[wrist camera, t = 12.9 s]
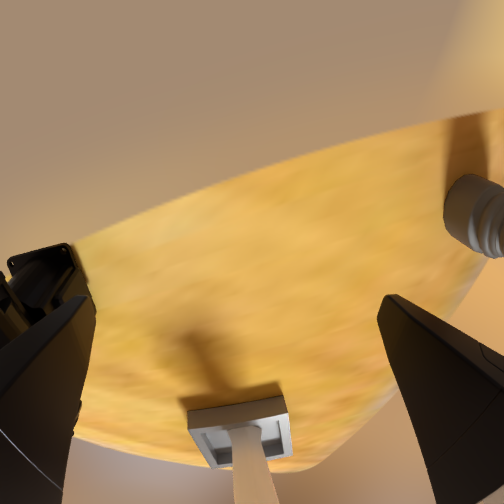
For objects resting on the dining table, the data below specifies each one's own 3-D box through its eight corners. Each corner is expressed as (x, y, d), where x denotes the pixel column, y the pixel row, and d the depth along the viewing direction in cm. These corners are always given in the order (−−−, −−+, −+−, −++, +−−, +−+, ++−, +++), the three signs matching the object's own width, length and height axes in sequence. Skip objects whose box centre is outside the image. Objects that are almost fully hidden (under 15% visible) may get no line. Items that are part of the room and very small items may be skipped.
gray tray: (210, 453, 34) (211, 468, 32) (187, 411, 30) (187, 429, 27) (288, 440, 35) (292, 455, 32) (283, 395, 30) (288, 413, 28)
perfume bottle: (266, 420, 31) (295, 546, 17) (263, 440, 32) (287, 553, 19) (223, 422, 30) (240, 553, 16) (223, 442, 32) (238, 559, 18)
